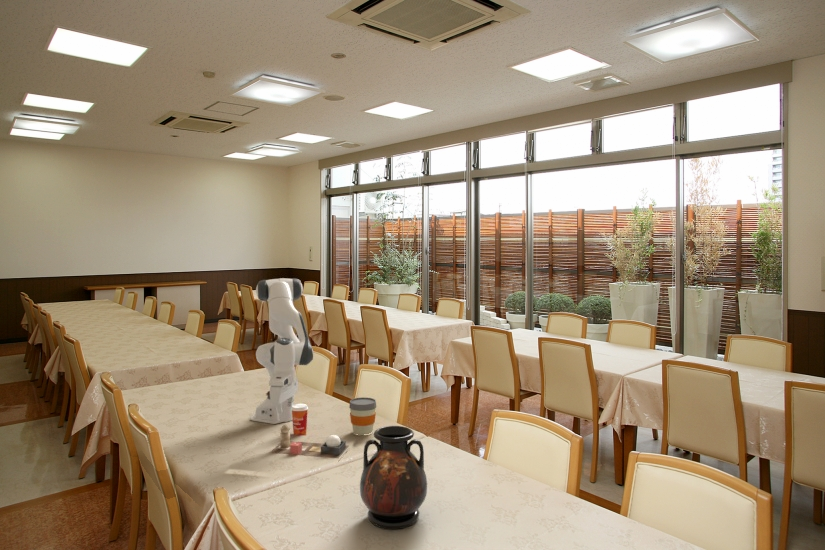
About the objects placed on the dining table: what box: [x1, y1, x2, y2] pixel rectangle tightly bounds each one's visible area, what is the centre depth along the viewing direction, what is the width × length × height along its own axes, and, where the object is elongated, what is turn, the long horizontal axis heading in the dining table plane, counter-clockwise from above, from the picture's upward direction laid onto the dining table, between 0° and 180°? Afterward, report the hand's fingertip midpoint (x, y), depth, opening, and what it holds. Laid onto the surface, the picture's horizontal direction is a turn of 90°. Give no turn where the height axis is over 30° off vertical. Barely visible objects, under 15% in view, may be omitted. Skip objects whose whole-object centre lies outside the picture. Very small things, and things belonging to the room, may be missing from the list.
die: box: [289, 441, 302, 456], centre depth 221 cm, size 4×4×4 cm
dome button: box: [325, 434, 342, 448], centre depth 223 cm, size 6×6×6 cm
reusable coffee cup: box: [348, 396, 377, 435], centre depth 249 cm, size 13×13×15 cm
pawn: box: [279, 424, 291, 448], centre depth 227 cm, size 4×4×9 cm
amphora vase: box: [359, 425, 428, 530], centre depth 170 cm, size 22×22×28 cm
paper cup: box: [291, 403, 309, 436], centre depth 245 cm, size 8×8×14 cm
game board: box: [268, 440, 349, 463], centre depth 225 cm, size 30×14×4 cm, turn 79°
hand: (285, 409), depth 226 cm, fingers open, 8 cm apart
